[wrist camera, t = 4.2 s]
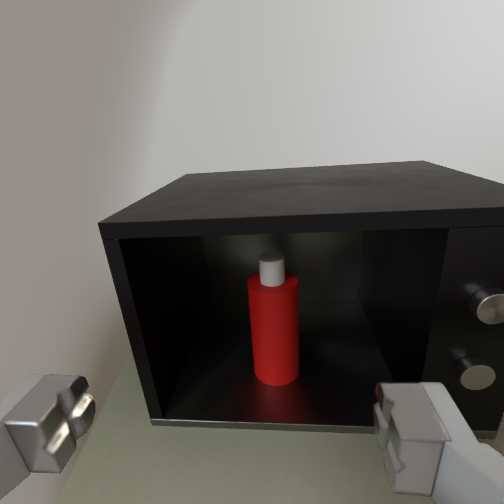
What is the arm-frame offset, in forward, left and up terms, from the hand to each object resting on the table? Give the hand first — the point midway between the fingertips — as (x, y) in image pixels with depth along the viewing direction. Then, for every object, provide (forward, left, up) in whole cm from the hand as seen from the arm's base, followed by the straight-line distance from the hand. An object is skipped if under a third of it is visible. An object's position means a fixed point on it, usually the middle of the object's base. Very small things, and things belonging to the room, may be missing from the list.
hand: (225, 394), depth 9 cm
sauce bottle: (0, +25, -23) cm, 34 cm away
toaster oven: (+4, +30, -24) cm, 39 cm away
